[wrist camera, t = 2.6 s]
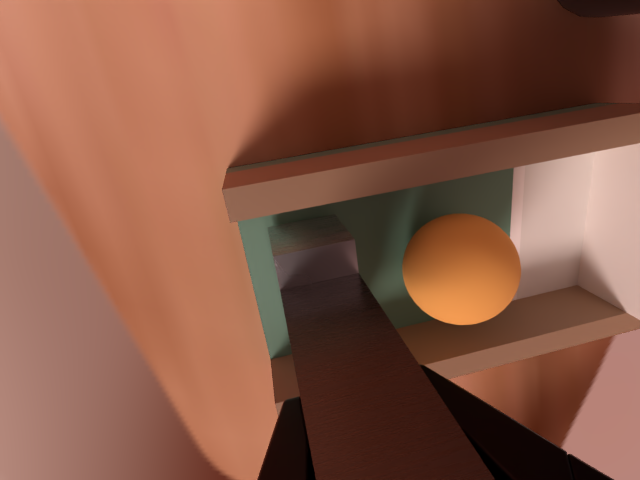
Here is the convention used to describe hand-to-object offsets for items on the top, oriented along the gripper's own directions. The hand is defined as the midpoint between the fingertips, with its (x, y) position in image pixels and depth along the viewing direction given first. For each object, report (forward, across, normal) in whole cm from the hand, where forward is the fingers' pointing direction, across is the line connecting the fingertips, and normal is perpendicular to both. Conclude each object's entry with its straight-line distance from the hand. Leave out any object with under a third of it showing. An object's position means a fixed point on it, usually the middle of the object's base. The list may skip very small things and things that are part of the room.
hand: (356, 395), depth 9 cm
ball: (+4, -5, 0) cm, 7 cm away
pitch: (+8, -5, 0) cm, 9 cm away
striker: (+6, 0, 0) cm, 6 cm away
